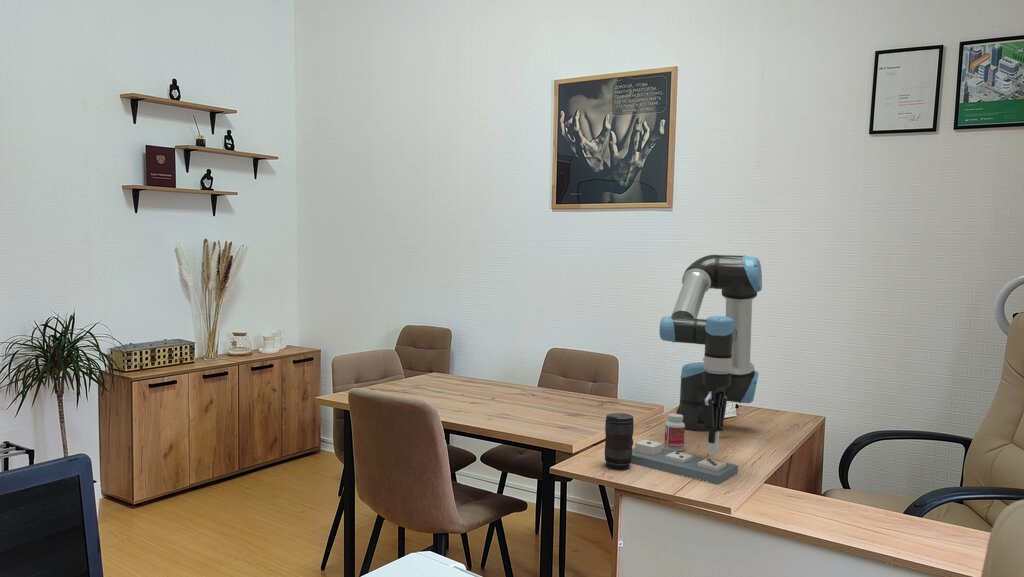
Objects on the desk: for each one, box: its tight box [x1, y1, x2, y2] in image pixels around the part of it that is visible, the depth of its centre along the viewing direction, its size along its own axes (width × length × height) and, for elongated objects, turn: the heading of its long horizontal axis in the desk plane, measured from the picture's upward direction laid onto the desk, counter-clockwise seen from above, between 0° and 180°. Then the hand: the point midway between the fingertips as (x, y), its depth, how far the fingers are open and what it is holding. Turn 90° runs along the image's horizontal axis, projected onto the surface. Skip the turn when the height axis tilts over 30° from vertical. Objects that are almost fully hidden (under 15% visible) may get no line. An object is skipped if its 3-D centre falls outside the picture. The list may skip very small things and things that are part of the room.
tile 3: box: [697, 458, 727, 471], centre depth 206 cm, size 6×6×4 cm
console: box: [630, 447, 739, 485], centre depth 212 cm, size 14×30×2 cm, turn 51°
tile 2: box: [665, 451, 693, 464], centre depth 212 cm, size 6×6×4 cm
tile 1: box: [634, 439, 664, 456], centre depth 218 cm, size 6×6×4 cm
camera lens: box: [604, 412, 635, 471], centre depth 210 cm, size 8×8×15 cm
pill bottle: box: [663, 413, 686, 452], centre depth 231 cm, size 6×6×11 cm
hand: (712, 453), depth 206 cm, fingers closed
